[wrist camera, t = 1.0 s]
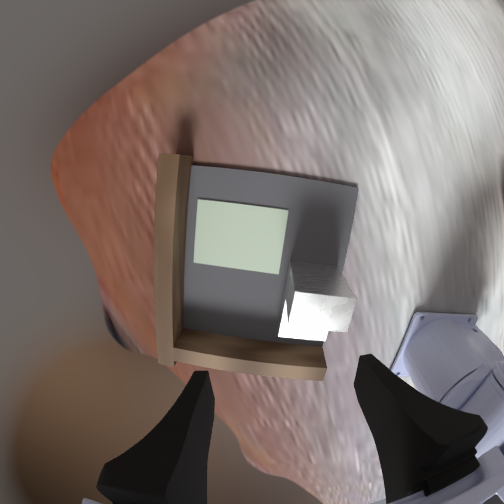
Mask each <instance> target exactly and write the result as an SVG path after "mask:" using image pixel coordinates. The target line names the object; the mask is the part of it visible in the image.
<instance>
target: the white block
mask: <svg viewBox="0 0 504 504" xmlns="http://www.w3.org/2000/svg"><path fill="white" fill-rule="evenodd" d="M356 301H357V298H356V296H355V294H354V292H353V291H352V289H351V287H350V286H349V284H348V282H347V281H346V279H345V277H344V276H343V274H342V272H341V271H340V269H339V267H338V266H333V265H326V264H318V263H311V262H303V261H296V260H290V261H289V267H288V273H287V279H286V284H285V290H284V296H283V301H282V306H281V312H280V317H279V322H278V336H279V337H288V338H298V339H308V340H319V341H326V337H327V334H328V331H339V332H347V330H348V327H349V324H350V321H351V318H352V314H353V311H354V308H355V304H356Z"/></svg>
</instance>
